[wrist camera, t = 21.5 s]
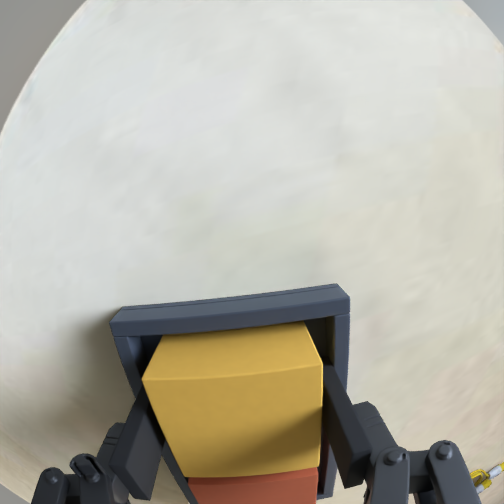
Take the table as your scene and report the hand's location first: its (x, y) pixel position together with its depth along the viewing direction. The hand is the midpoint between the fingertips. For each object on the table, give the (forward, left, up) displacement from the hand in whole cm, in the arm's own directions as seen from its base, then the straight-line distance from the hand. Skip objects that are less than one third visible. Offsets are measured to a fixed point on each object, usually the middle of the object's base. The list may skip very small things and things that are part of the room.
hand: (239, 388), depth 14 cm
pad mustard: (0, 0, -1) cm, 1 cm away
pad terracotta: (+8, 0, -1) cm, 8 cm away
